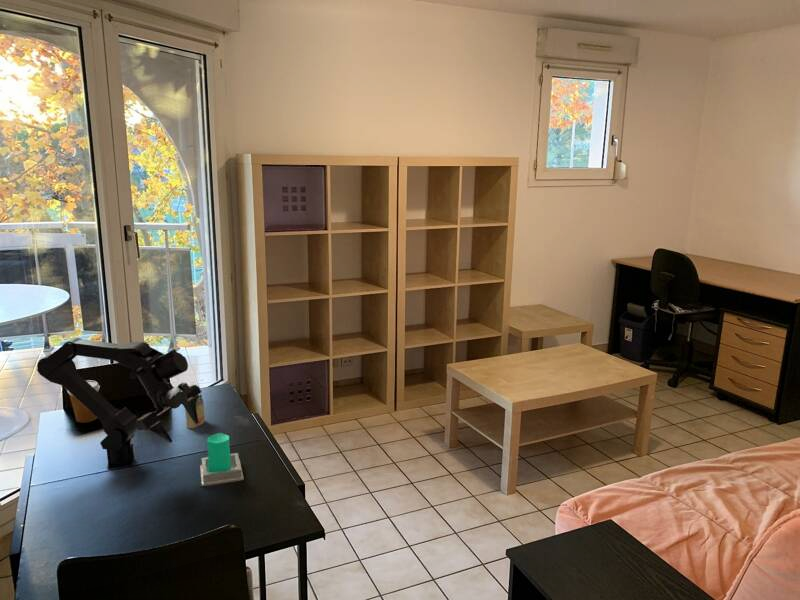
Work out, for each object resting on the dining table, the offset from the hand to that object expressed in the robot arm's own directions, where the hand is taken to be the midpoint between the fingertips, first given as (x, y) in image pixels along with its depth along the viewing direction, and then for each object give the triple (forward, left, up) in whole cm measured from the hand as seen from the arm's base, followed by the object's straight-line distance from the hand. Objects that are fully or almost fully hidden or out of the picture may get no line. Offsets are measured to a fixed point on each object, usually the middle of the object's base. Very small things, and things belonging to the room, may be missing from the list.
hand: (184, 432), depth 171 cm
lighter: (+3, +28, -11) cm, 30 cm away
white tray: (+9, -4, -11) cm, 15 cm away
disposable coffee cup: (-31, +43, -11) cm, 54 cm away
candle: (+9, -7, -10) cm, 15 cm away
